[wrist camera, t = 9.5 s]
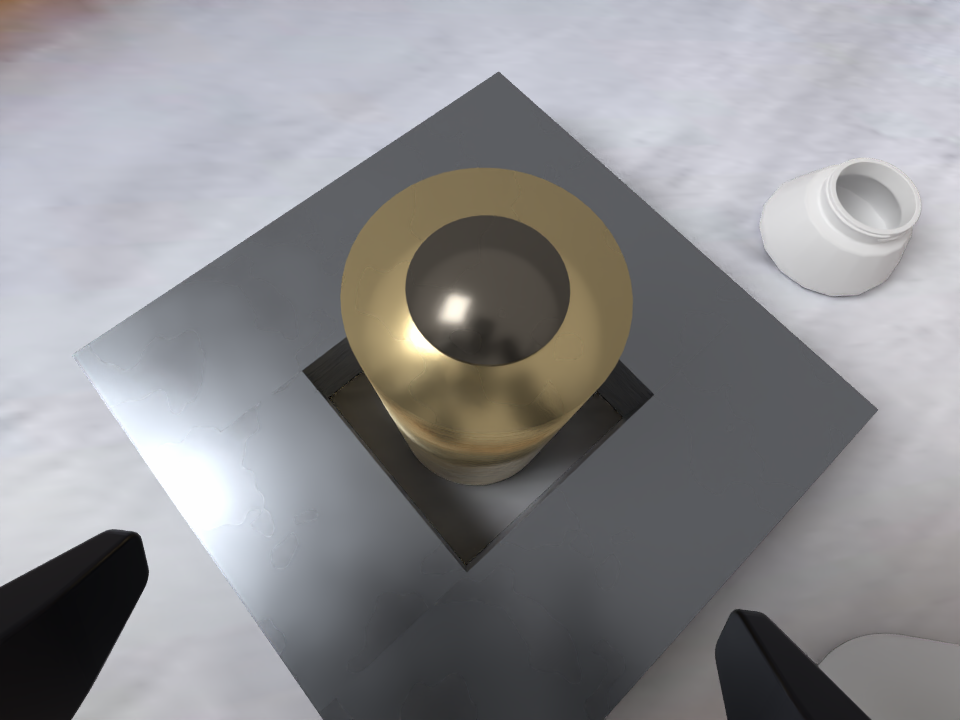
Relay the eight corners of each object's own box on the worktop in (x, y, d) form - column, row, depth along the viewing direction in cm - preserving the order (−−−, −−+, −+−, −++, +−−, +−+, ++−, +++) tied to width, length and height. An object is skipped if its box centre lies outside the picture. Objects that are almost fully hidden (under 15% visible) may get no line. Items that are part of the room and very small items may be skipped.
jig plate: (811, 430, 18) (878, 409, 15) (449, 823, 14) (445, 897, 11) (493, 134, 21) (498, 71, 18) (136, 384, 17) (72, 355, 14)
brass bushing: (580, 416, 18) (695, 301, 9) (467, 519, 16) (474, 501, 8) (481, 311, 19) (498, 119, 10) (369, 401, 17) (279, 271, 9)
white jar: (742, 188, 21) (770, 302, 19) (785, 135, 18) (822, 263, 17) (863, 185, 21) (900, 298, 20) (924, 132, 18) (974, 258, 17)
